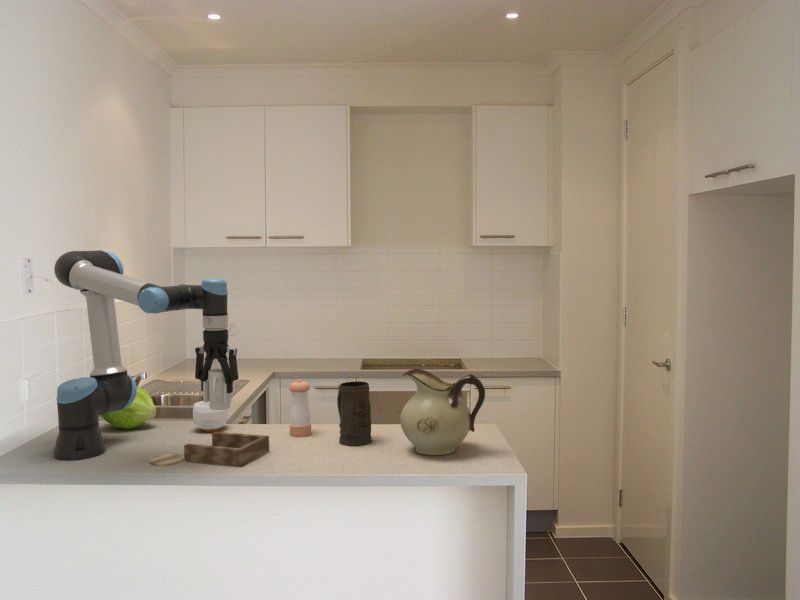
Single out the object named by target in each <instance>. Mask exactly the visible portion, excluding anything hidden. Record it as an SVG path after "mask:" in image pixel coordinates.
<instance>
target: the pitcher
mask: <svg viewBox="0 0 800 600" xmlns="http://www.w3.org/2000/svg"><path fill="white" fill-rule="evenodd" d="M402 377H404V378H407V379H410V380H412V382H413V383H414V384H415V385H416V391H415V393H414V394H413V396H412V397H411V398H410V399H409V400H408V401H407V402H406V403H405V405H404V407H402V410H401V413H400V417H399V419H400V427H401V429H402V431H403V434H404V436H405V437H406V439H408V442H410V443H411V444H412V445H413V446H414V447H415V451H416V452H417V453H418V454H421V455H424V456H425V455H426V456H445V455H450V454H453V453H454V452H455V451H456V448H457V447H458V446H459V445H460V444H461V443H462V442H463V441H464V440H465V438H466V437H467V436H468V434H469V432H472V433H474V432H475V430H476V429H475V421H476V418H477V415H478V412H479V411H480V409H481V408H482V406H483V404H484V402H485V398H486V389H485V385H484V384H483V383H482V381H481V380H480V379H479V378H478V377H476V376H475V375H474V374H471V373H470V374H467V375H465V376H462V377H461V378H459V379H458V380H457V381H456V382H453V383H448V382H447V381H444V380H443V379H440V378H439V377H438V376H436V375H434V374H433V373H431V372H429V371H428V370H424V369H421V368H413V369H409V370H407V371H406V372H405V373H403V374H402ZM467 384H468V385H473V386H475V387H476V389H477V392H478V398H477V401H476V403H475V406H474V408H473V409H472V412H471V411H470V408H469V407H468V405H467V404H466V402H465V401H464V400H463V399H464V398H463V396H462V395H463V394H462V391H463V390H462V389H463V387H464V386H465V385H467Z"/></svg>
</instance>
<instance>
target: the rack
mask: <svg viewBox="0 0 800 600" xmlns="http://www.w3.org/2000/svg"><path fill="white" fill-rule="evenodd" d="M211 444H212V445H208V444H206V445H204V444H198V443H197V444H195V443H185V444H184V445H183V451H184V452H183V457H184V462H185V461H186V462H187V463H197V464H209V465H218V466H219V465H220V466H229V467H238V468H239V467H241V468H242V467H243V466H245V465H248V464H249V463H252V462H254V461H256V458H257V459H259V458H260V457H262V456H263V455H265V454H268V453H269V452H270V436H269V435H261V434H252V433H251V434H249V433H239V432H238V433H236V432H224V431H223V432H221V431H213V432H211Z"/></svg>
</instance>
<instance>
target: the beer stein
mask: <svg viewBox="0 0 800 600" xmlns="http://www.w3.org/2000/svg"><path fill="white" fill-rule="evenodd" d="M337 392H338V393H337V398H336V399H337V400H336V403H337V404H336V405H337V410H338V416H339V419H340V421H339V426H338V427H339V441H338V442H339V444H340V445H342V446H350V447H357V446H358V447H359V446H361V447H362V446H365V445H368V444H370V443H371V442H372V441H373V439H372V416H371V415H372V414H371V412H372V411H371V410H372V409H371V401H370V384H369V382H367V381H360V380H359V381H347V382H346V381H345V382H342V383H340V384H339V385H338V391H337Z"/></svg>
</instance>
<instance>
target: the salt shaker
mask: <svg viewBox="0 0 800 600" xmlns="http://www.w3.org/2000/svg"><path fill="white" fill-rule="evenodd" d="M310 389H311V386H310V385H309V382H307V381H302V379H296V381H294V382H292V383H290V385H289V387H288V390H289V391H290V392H291V409H290V424H289V435H290V436H291V437H295V438H296V437H298V438H301V437H302V438H303V437H308V436H310V435H312V424H311V413H310V407H309V395H308V394H309V393H308V392H309V390H310Z"/></svg>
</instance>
